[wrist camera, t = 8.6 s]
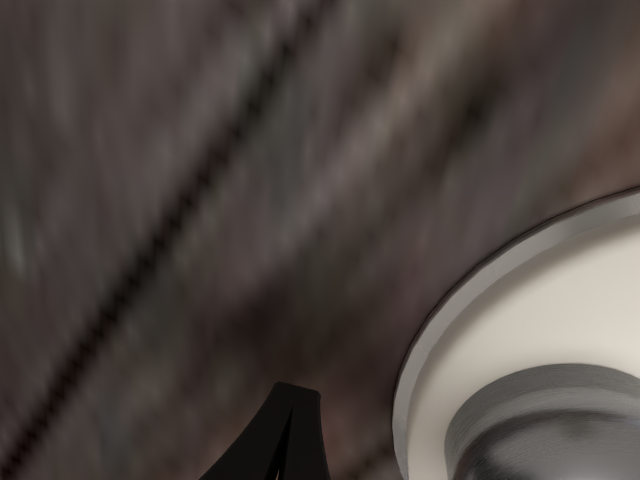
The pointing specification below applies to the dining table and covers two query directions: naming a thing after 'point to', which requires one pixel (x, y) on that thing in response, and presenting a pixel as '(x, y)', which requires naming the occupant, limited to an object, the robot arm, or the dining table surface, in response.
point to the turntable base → (484, 278)
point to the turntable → (532, 330)
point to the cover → (548, 427)
